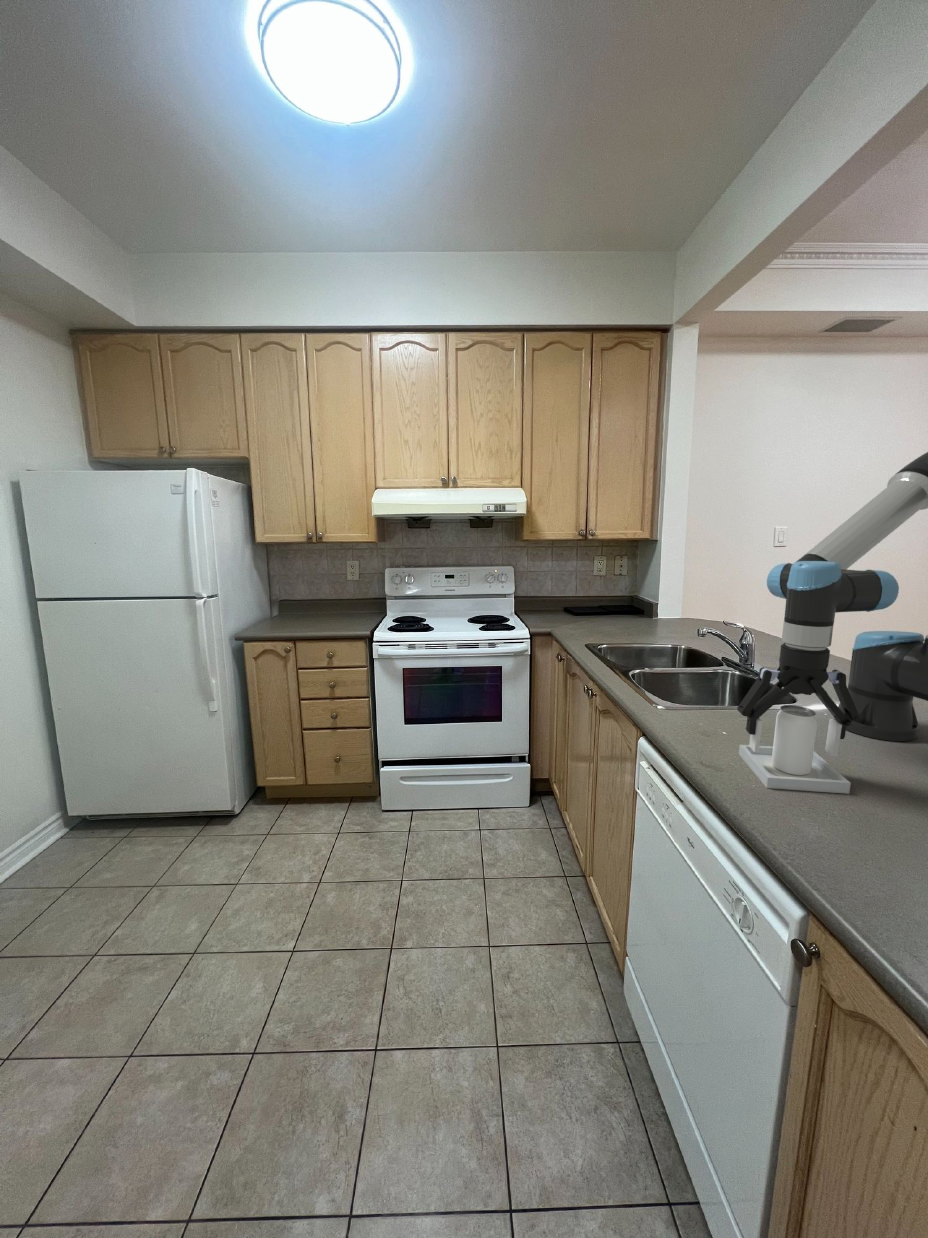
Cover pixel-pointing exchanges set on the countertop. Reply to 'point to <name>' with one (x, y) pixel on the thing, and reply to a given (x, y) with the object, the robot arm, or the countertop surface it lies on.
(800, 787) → the flange tray
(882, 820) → the countertop surface
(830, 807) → the countertop surface
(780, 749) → the can
